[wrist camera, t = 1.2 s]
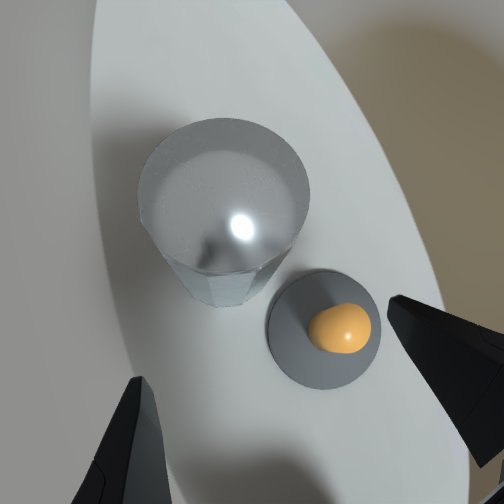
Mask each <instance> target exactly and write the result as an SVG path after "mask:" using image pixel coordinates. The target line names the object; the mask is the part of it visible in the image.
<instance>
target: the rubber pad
mask: <svg viewBox="0 0 504 504" xmlns="http://www.w3.org/2000/svg"><path fill="white" fill-rule="evenodd" d="M344 303H352V304H356V305H358V306H360V307H361V308H362V309H364V310H365V312H366V313H367V315H368V317H369V319H370V323H371V333H370V337H369V339H368V341H367V343H366V344H365V345H364V346H363V347H362V348H361V349H360V350H358V351H356V352H354V353H334V352H324V351H321V350H319V349H317V348H316V347H314V345H313V344H312V343H311V341H310V339H309V335H308V327H309V323H310V321H311V319H312V318H313V317H314V316H315V315H316V314H317V313H318V312H320V311H323V310H326V309H329V308H332V307H335V306H338V305H341V304H344ZM380 338H381V321H380V316H379V312H378V309H377V306H376V304H375V302H374V300H373V299H372V297H371V296H370V294H369V293H368V292H367V290H366V289H365V288H364V287H363V286H362V285H360V284H359V283H358V282H356V281H355V280H353V279H352V278H350V277H348V276H345V275H342V274H339V273H334V272H318V273H313V274H310V275H307V276H304V277H302V278H300V279H298V280H297V281H295V282H294V283H292V284H291V285H290V286H289V287H288V288H287V289H286V290H285V291H284V292H283V293H282V294H281V295H280V297H279V298H278V300H277V301H276V303H275V305H274V307H273V309H272V312H271V315H270V319H269V324H268V340H269V345H270V349H271V352H272V355H273V357H274V359H275V361H276V363H277V364H278V366H279V367H280V369H281V370H282V371H283V372H284V373H285V374H286V375H287V376H288V377H290V378H291V379H292V380H294V381H296V382H297V383H299V384H301V385H304V386H306V387H309V388H313V389H320V390H325V389H335V388H338V387H342V386H344V385H347V384H349V383H351V382H352V381H354V380H356V379H357V378H358V377H359V376H361V375H362V374H363V373H364V372H365V371H366V370H367V368H368V367H369V366H370V364H371V363H372V361H373V359H374V358H375V355H376V353H377V351H378V347H379V344H380Z"/></svg>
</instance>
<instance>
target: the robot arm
mask: <svg viewBox="0 0 504 504" xmlns="http://www.w3.org/2000/svg"><path fill="white" fill-rule="evenodd" d="M387 318H388V320H389V322H390V324H391V326H392V327H393V329H394V331H395V333H396V335H397V336H398V338H399V340H400V342H401V344H402V346H403V347H404V349H405V351H406V352H407V354H408V355H409V357H410V358H411V360H412V361H413V363H414V364H415V365H416V367H417V368H418V370H419V371H420V373H421V374H422V376H423V377H424V379H425V380H426V382H427V383H428V385H429V386H430V388H431V389H432V391H433V392H434V394H435V395H436V397H437V399H438V400H439V402H440V403H441V405H442V406H443V408H444V409H445V411H446V413H447V414H448V416H449V417H450V419H451V421H452V422H453V424H454V425H455V427H456V429H458V432H459V434H460V435H461V437H462V439H463V440H464V442H465V444H466V445H467V447H468V449H469V451H470V452H471V454H472V456H473V457H474V459H475V461H476V463H477V464H478V466H479V467H480V468H482V467H483V466H484V465H486V464H487V463H488V462H489V461H490V460H492V459H493V458H494V457H495V456H496V455H497V454H499V453H500V452H501V451H502V450H503V449H504V334H501V333H498V332H495V331H493V330H490V329H487V328H485V327H482V326H480V325H478V326H477V324H475V323H472V322H469V321H467V320H464V319H462V318H459V317H457V316H454V315H452V314H449V313H447V312H444V311H442V310H439V309H436V308H434V307H431V306H429V305H426V304H424V303H421V302H419V301H416V300H413V299H411V298H408V297H406V296H403V295H396V296H394V297H391V298H390V300H389V305H388V311H387ZM71 504H172V501H171V495H170V489H169V482H168V476H167V469H166V461H165V453H164V445H163V437H162V431H161V426H160V422H159V418H158V413H157V408H156V404H155V399H154V394H153V391H152V389H151V388H150V386H149V385H148V383H147V382H146V380H145V378H144V377H143V376H138V377H133V378H131V379H130V381H129V383H128V385H127V387H126V389H125V391H124V393H123V395H122V397H121V400H120V402H119V404H118V406H117V408H116V410H115V412H114V414H113V417H112V419H111V421H110V423H109V425H108V427H107V430H106V432H105V434H104V436H103V438H102V441H101V443H100V445H99V447H98V450H97V452H96V454H95V456H94V460H93V461H92V463H91V465H90V468H89V470H88V472H87V474H86V476H85V479H84V481H83V483H82V484H81V486H80V488H79V490H78V492H77V494H76V496H75V497H74V499H73V501H72V503H71ZM479 504H504V459H503V461H502V468H501V475H500V481H499V486H498V487H497V488H495V489H494V490H493V491H492V492H491V493H490V494H489V495H488V496H487V497H485V498H484V499H483V500H482V501H481V502H479Z"/></svg>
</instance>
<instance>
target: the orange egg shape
mask: <svg viewBox="0 0 504 504" xmlns="http://www.w3.org/2000/svg"><path fill="white" fill-rule="evenodd" d="M370 333H371V323H370V319H369V317H368V315H367V313H366V312H365V310H364V309H362V308H361V307H360V306H358V305H356V304H352V303H344V304H341V305H338V306H335V307H332V308H329V309H326V310H323V311H320V312H318V313H317V314H316V315H315V316H314V317H313V318H312V319H311V321H310V323H309V327H308V335H309V339H310V341H311V343H312V344H313V345H314V347H316V348H317V349H319V350H321V351H324V352H334V353H354V352H356V351H358V350H360V349H361V348H362V347H363V346H364V345H365V344H366V343H367V341H368V339H369V337H370Z"/></svg>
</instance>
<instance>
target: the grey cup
mask: <svg viewBox="0 0 504 504" xmlns="http://www.w3.org/2000/svg"><path fill="white" fill-rule="evenodd" d="M309 202H310V187H309V180H308V177H307V173H306V170H305V168H304V166H303V163H302V161H301V160H300V158H299V157H298V155H297V153H296V152H295V151H294V150H293V148H292V147H291V146H290V145H289V144H288V143H287V142H286V141H285V140H284V139H283V138H281V137H280V136H279V135H277V134H276V133H274V132H273V131H271V130H269V129H267V128H265V127H263V126H261V125H259V124H256V123H253V122H250V121H246V120H240V119H233V118H215V119H207V120H203V121H199V122H195V123H193V124H190V125H187V126H185V127H183V128H181V129H179V130H177V131H176V132H174V133H172V134H171V135H169V136H168V137H167V138H166V139H164V140H163V141H162V142H161V143H160V144H159V145H158V146H157V147H156V148H155V149H154V151H153V152H152V153H151V155H150V156H149V158H148V159H147V161H146V163H145V165H144V167H143V169H142V172H141V174H140V178H139V182H138V190H137V204H138V209H139V214H140V221H141V223H142V225H143V226H144V228H145V229H146V231H147V232H148V234H149V236H150V237H151V239H152V240H153V242H154V243H155V245H156V246H157V248H158V249H159V251H160V252H161V254H162V255H163V257H164V259H165V260H166V261H167V263H168V264H169V266H170V267H171V268H172V270H173V271H174V273H175V274H176V275H177V277H178V278H179V279H180V281H181V282H182V283H183V285H184V286H185V287H186V289H187V290H188V291H189V293H190V294H191V295H192V297H194V298H196V299H198V300H200V301H202V302H205V303H207V304H209V305H211V306H213V307H216V308H217V307H227V306H237V305H242V304H243V303H245V302H246V301H248V300H249V299H250V298H252V297H253V296H254V295H256V294H257V293H258V292H260V291H261V290H262V289H263V288H264V286H265V285H266V283H267V282H268V281H269V279H270V278H271V277H272V275H273V274H274V272H275V271H276V270H277V268H278V267H279V265H280V264H281V263H282V261H283V260H284V258H285V257H286V256H287V254H288V253H289V251H290V250H291V249H292V247H293V246H294V244H295V241H296V239H297V236H298V233H299V231H300V230H301V228H302V226H303V223H304V221H305V219H306V216H307V212H308V209H309Z"/></svg>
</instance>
